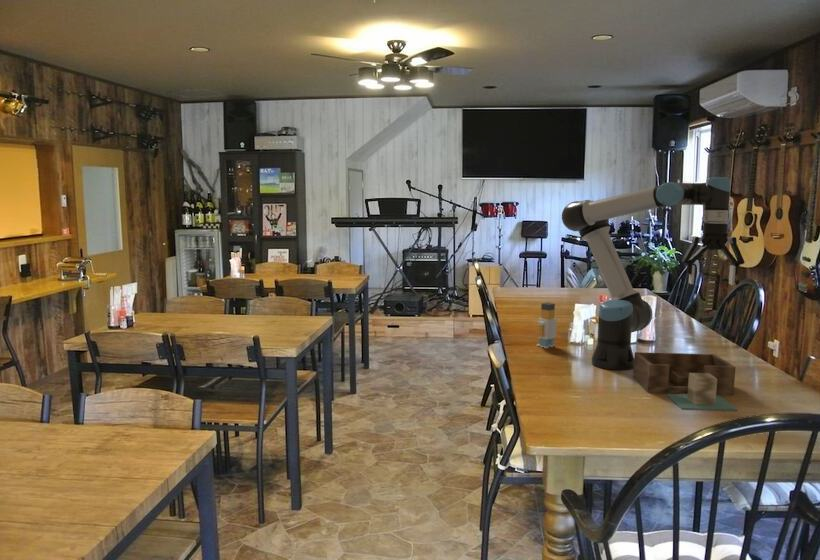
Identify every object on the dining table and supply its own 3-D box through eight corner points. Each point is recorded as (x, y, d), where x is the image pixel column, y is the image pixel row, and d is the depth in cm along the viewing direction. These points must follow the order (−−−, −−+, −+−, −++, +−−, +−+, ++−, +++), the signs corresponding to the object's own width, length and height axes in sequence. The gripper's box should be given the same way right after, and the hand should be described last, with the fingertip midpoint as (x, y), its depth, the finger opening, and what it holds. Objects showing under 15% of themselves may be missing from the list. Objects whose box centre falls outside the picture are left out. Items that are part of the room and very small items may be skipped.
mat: (681, 409, 187) (681, 407, 187) (666, 395, 200) (666, 394, 200) (737, 410, 186) (737, 409, 186) (719, 396, 199) (719, 395, 199)
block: (694, 404, 190) (696, 378, 189) (687, 398, 196) (689, 372, 195) (715, 405, 190) (717, 378, 189) (707, 398, 196) (709, 373, 195)
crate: (647, 392, 203) (649, 364, 201) (633, 377, 219) (634, 352, 218) (733, 394, 201) (735, 367, 200) (712, 380, 217) (714, 354, 216)
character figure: (535, 348, 260) (537, 304, 257) (537, 342, 270) (538, 300, 267) (555, 349, 258) (557, 305, 255) (556, 344, 268) (557, 301, 265)
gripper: (682, 222, 216) (678, 284, 219) (758, 223, 214) (753, 286, 217) (674, 221, 223) (670, 281, 226) (748, 222, 222) (743, 283, 224)
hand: (711, 284), depth 221 cm, fingers open, 13 cm apart
